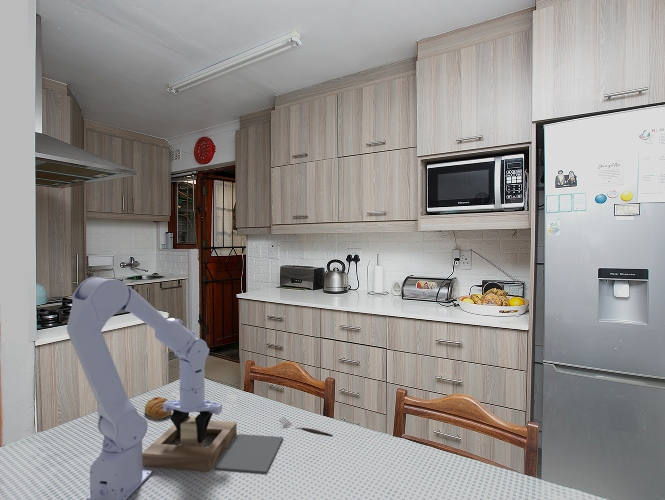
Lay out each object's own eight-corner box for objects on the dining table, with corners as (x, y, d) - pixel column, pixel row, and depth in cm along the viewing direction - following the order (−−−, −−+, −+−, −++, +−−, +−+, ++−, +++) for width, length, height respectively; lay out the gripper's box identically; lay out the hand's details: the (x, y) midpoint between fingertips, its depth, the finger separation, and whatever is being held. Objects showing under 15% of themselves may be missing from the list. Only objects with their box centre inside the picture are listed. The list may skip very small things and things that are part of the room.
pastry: (177, 415, 106) (177, 402, 106) (153, 423, 101) (153, 410, 101) (165, 405, 112) (164, 393, 112) (142, 412, 108) (141, 400, 107)
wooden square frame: (208, 471, 79) (208, 458, 79) (142, 466, 81) (141, 453, 81) (236, 433, 95) (236, 422, 95) (180, 429, 97) (180, 418, 97)
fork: (330, 440, 93) (330, 432, 93) (278, 427, 99) (278, 420, 99) (334, 435, 95) (334, 427, 95) (283, 422, 101) (283, 415, 101)
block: (196, 453, 86) (196, 424, 86) (180, 452, 87) (180, 423, 86) (204, 444, 90) (204, 416, 90) (189, 442, 91) (189, 415, 90)
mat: (266, 473, 79) (266, 471, 79) (214, 469, 80) (214, 467, 80) (282, 438, 93) (282, 437, 93) (238, 435, 94) (238, 434, 94)
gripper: (227, 381, 91) (227, 433, 91) (173, 378, 93) (174, 429, 93) (214, 392, 84) (215, 449, 84) (157, 389, 86) (158, 445, 86)
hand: (192, 440), depth 88 cm, fingers closed on block, 4 cm apart
